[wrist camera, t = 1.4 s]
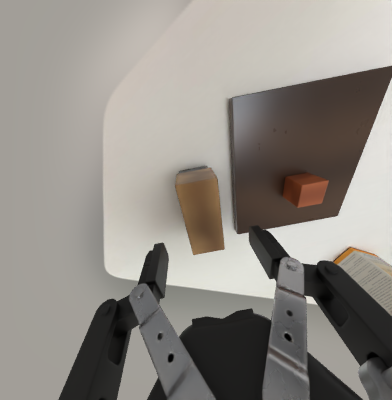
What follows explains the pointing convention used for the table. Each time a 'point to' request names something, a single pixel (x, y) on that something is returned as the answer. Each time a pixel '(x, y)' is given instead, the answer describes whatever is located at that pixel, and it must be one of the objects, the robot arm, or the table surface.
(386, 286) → the supplement box
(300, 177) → the reddish brown block
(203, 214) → the brush
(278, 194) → the tray
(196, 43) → the table surface
